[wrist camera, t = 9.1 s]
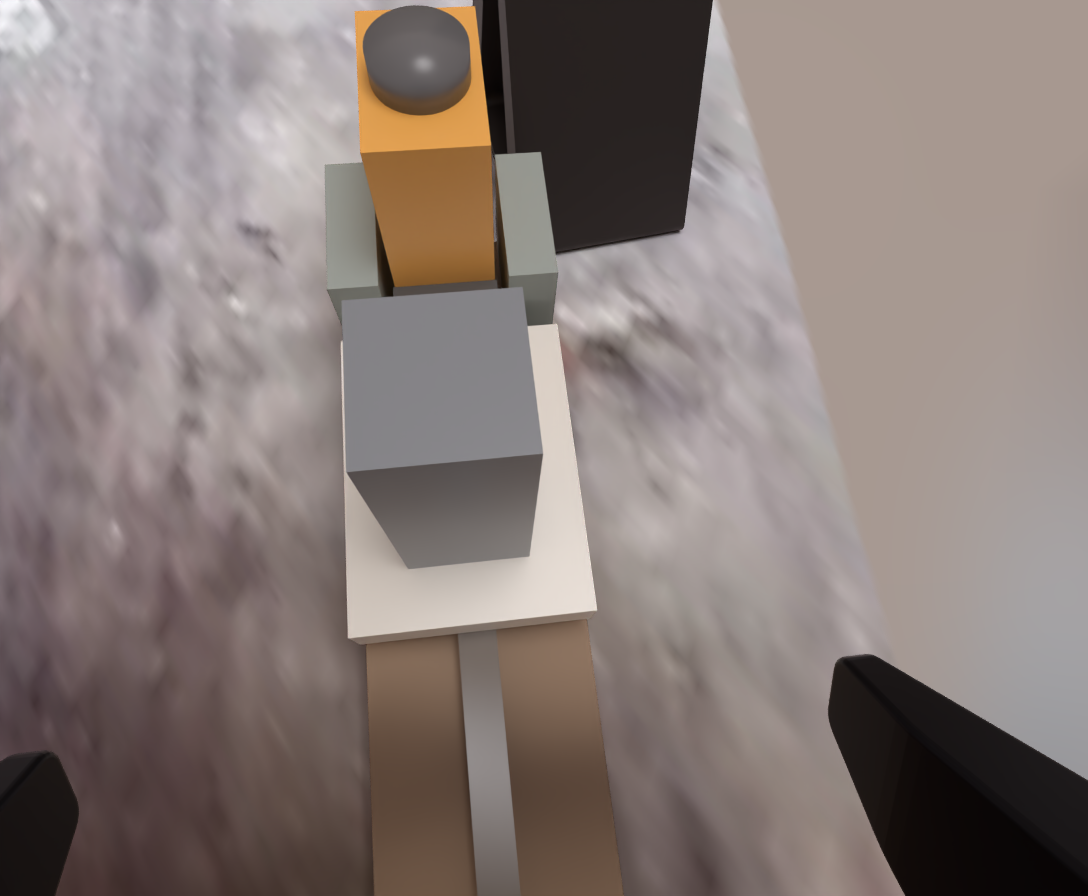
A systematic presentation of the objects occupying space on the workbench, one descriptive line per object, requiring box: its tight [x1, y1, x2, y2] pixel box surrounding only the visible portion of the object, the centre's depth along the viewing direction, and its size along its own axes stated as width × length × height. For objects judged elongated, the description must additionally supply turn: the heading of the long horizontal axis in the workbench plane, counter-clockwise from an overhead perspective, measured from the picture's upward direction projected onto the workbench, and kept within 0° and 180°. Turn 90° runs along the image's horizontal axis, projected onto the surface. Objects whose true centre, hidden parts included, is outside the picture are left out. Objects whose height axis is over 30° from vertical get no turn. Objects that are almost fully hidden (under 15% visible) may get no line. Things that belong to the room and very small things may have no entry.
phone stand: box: [473, 0, 713, 252], centre depth 22 cm, size 9×6×12 cm, turn 13°
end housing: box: [325, 152, 558, 326], centre depth 22 cm, size 4×6×4 cm, turn 96°
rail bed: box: [366, 242, 624, 896], centre depth 21 cm, size 21×6×2 cm, turn 6°
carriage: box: [341, 280, 597, 645], centre depth 16 cm, size 9×6×9 cm, turn 6°
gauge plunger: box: [355, 6, 495, 287], centre depth 19 cm, size 4×3×9 cm
